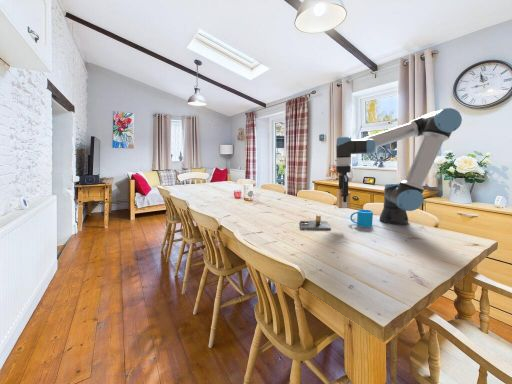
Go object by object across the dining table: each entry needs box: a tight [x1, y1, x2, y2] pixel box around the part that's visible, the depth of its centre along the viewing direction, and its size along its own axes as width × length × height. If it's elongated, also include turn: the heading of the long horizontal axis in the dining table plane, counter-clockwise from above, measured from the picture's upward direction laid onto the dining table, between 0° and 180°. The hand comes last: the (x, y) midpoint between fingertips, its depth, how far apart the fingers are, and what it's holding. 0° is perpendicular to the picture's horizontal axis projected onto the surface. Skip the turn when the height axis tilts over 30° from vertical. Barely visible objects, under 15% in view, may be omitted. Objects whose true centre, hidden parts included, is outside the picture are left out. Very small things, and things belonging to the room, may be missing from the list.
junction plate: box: [299, 214, 332, 231], centre depth 141 cm, size 16×14×6 cm
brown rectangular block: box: [336, 188, 351, 209], centre depth 137 cm, size 6×6×10 cm
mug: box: [349, 209, 374, 228], centre depth 142 cm, size 12×8×8 cm
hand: (343, 206), depth 137 cm, fingers closed on brown rectangular block, 6 cm apart
